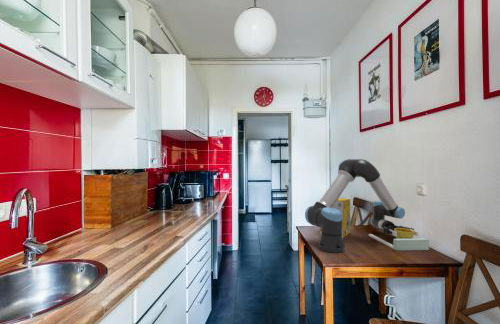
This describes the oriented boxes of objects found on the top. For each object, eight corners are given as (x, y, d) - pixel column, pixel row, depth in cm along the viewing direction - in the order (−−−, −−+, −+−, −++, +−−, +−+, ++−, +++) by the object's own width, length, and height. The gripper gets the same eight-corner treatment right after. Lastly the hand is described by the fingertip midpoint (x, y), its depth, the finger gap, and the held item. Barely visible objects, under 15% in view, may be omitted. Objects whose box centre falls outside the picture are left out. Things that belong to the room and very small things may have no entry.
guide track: (368, 235, 188) (368, 227, 188) (396, 235, 189) (396, 226, 189) (396, 250, 156) (396, 240, 156) (428, 249, 158) (429, 239, 158)
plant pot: (417, 247, 163) (417, 231, 163) (404, 249, 159) (404, 232, 159) (402, 242, 172) (402, 227, 172) (390, 244, 169) (390, 228, 169)
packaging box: (349, 233, 194) (350, 199, 194) (343, 238, 181) (343, 201, 181) (327, 230, 203) (328, 197, 203) (319, 234, 190) (320, 199, 190)
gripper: (404, 231, 184) (426, 240, 163) (369, 231, 183) (387, 240, 161) (404, 220, 184) (426, 227, 163) (369, 220, 183) (387, 228, 161)
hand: (407, 234), depth 162 cm, fingers open, 13 cm apart
